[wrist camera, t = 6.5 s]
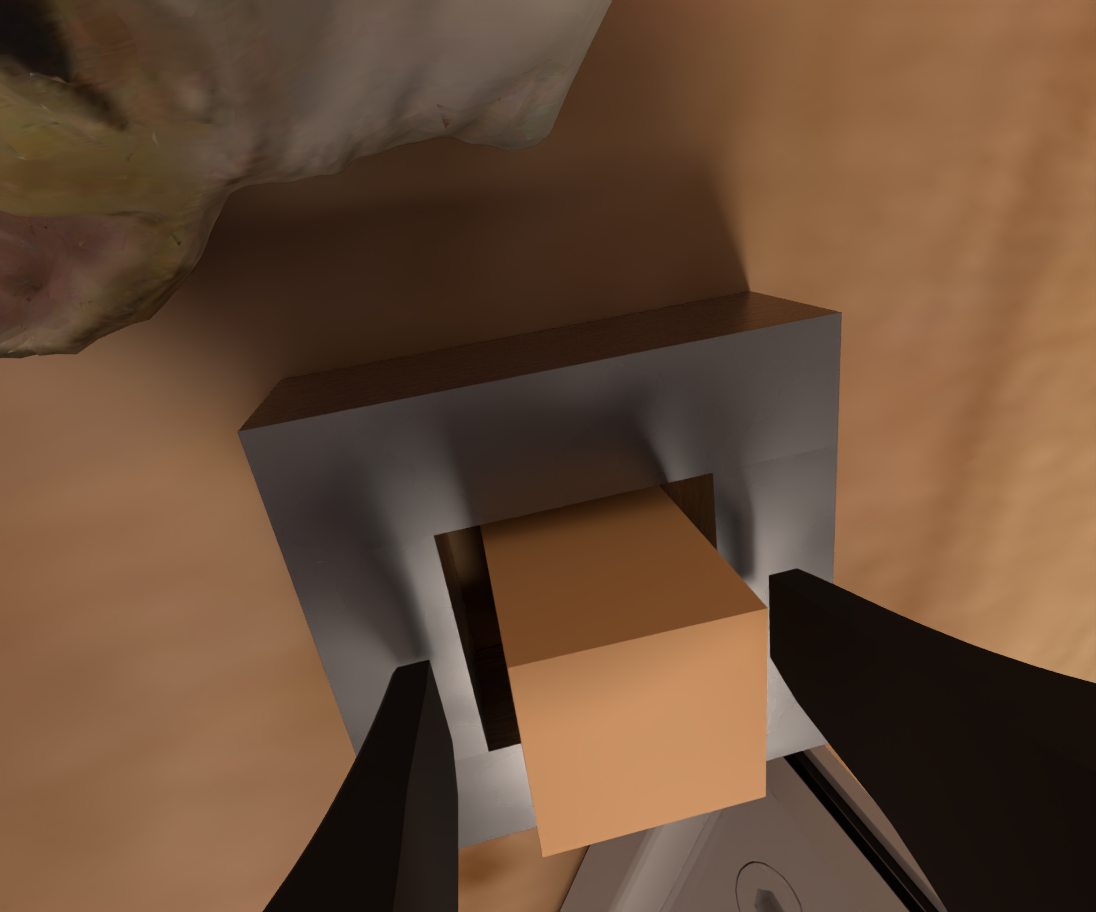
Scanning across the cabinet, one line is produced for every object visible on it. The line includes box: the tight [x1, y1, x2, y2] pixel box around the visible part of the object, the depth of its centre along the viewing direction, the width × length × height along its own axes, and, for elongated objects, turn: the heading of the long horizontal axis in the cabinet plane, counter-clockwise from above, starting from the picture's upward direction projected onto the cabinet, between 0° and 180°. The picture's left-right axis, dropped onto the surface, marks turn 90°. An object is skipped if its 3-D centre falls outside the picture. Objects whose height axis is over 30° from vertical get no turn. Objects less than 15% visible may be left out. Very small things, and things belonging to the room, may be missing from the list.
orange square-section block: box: [480, 485, 768, 857], centre depth 13 cm, size 4×4×7 cm
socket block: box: [238, 291, 842, 849], centre depth 15 cm, size 11×11×4 cm
